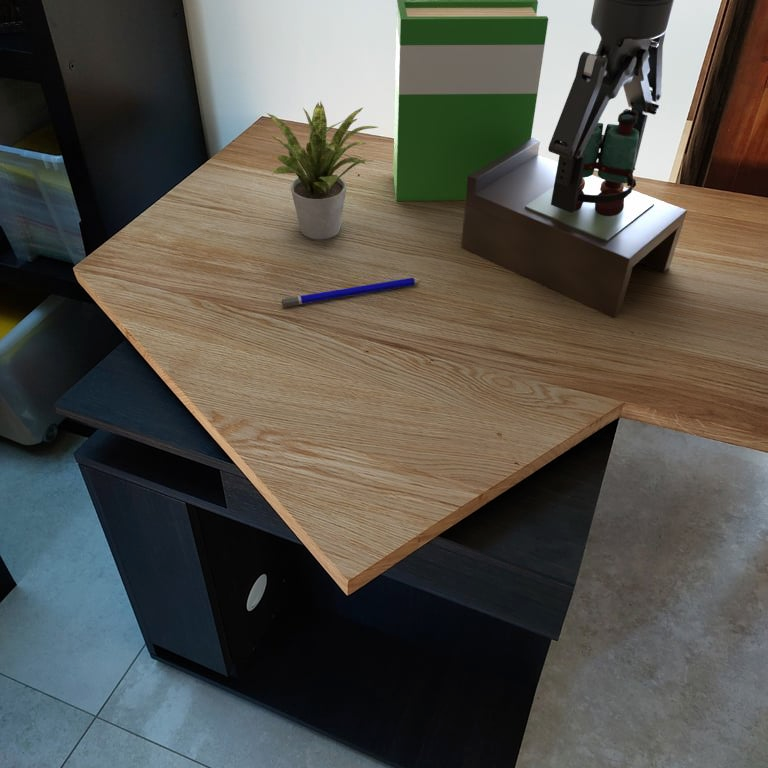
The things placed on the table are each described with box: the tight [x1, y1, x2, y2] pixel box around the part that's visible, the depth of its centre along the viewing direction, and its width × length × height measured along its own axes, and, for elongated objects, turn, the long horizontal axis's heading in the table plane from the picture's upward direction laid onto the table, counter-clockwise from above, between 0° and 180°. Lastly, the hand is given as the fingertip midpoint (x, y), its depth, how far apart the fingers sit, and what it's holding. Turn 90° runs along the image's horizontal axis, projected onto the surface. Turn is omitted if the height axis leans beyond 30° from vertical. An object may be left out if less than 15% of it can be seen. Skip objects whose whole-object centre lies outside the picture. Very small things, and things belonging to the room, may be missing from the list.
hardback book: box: [392, 0, 549, 202], centre depth 103 cm, size 18×7×24 cm, turn 93°
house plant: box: [266, 101, 379, 240], centre depth 96 cm, size 14×14×16 cm
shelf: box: [460, 137, 688, 319], centre depth 95 cm, size 22×14×10 cm, turn 48°
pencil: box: [281, 277, 422, 308], centre depth 91 cm, size 17×1×1 cm, turn 107°
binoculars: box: [575, 109, 639, 216], centre depth 88 cm, size 9×11×10 cm
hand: (594, 186), depth 90 cm, fingers open, 13 cm apart
